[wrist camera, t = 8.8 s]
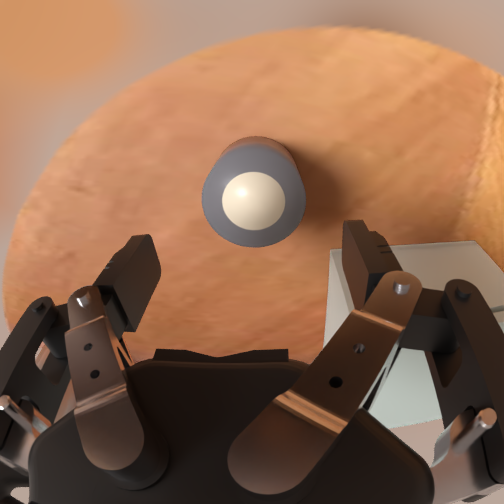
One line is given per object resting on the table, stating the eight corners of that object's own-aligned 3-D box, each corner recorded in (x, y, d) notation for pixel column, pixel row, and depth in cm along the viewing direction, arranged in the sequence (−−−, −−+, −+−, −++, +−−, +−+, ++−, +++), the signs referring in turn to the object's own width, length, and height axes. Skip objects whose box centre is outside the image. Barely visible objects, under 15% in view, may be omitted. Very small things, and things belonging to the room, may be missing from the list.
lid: (331, 425, 23) (332, 434, 22) (354, 328, 16) (357, 340, 15) (470, 402, 21) (473, 409, 20) (533, 305, 14) (539, 313, 13)
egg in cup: (217, 214, 23) (206, 247, 19) (212, 137, 20) (197, 152, 16) (295, 214, 23) (303, 247, 18) (298, 136, 20) (308, 151, 15)
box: (322, 351, 31) (331, 423, 23) (330, 249, 24) (353, 329, 16) (441, 335, 29) (467, 394, 22) (474, 240, 23) (525, 299, 15)
